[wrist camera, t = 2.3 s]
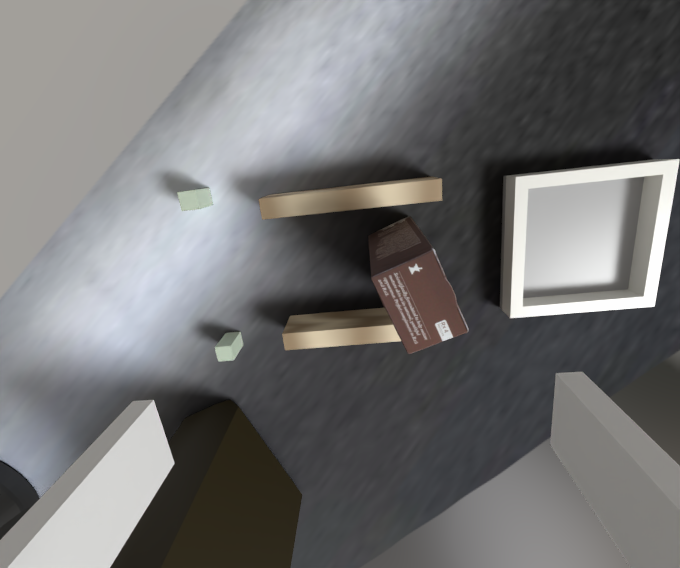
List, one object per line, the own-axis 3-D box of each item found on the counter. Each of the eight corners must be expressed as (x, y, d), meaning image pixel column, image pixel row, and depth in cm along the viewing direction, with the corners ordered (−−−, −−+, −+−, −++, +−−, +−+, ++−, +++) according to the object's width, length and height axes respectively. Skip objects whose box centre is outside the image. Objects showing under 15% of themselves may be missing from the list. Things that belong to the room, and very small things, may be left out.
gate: (228, 346, 37) (218, 361, 34) (192, 189, 32) (177, 192, 29) (243, 344, 37) (233, 360, 34) (209, 187, 32) (195, 190, 29)
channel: (292, 330, 36) (285, 350, 32) (270, 194, 32) (258, 198, 28) (435, 318, 35) (445, 337, 31) (431, 176, 31) (441, 178, 27)
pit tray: (499, 307, 34) (510, 318, 32) (503, 175, 31) (515, 177, 28) (633, 296, 34) (654, 306, 31) (654, 159, 30) (679, 159, 27)
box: (364, 236, 33) (368, 276, 21) (410, 214, 32) (440, 243, 21) (391, 293, 34) (408, 358, 23) (435, 273, 34) (476, 330, 22)
